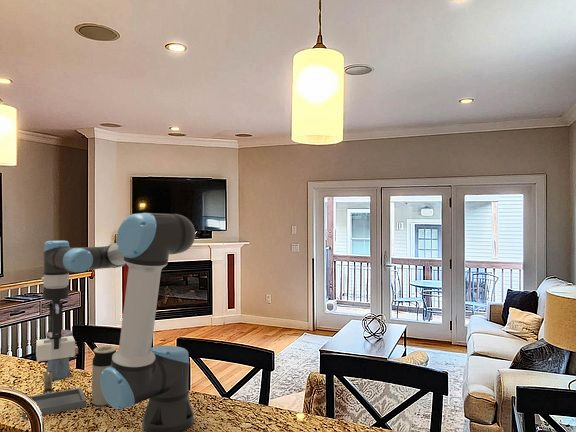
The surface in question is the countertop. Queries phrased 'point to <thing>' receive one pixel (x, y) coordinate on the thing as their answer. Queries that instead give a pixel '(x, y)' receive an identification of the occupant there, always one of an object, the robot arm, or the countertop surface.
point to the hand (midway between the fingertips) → (54, 354)
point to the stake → (48, 382)
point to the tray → (59, 401)
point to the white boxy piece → (45, 348)
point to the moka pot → (59, 361)
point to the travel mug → (100, 371)
